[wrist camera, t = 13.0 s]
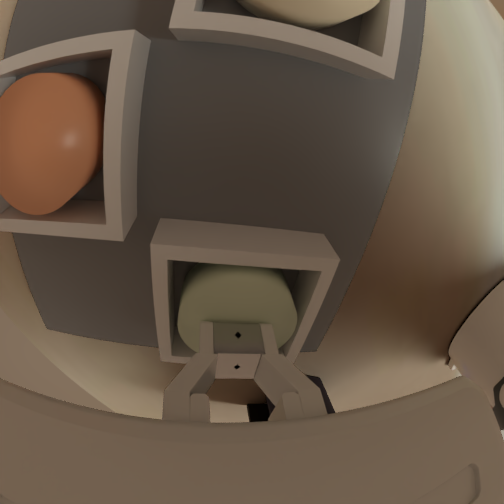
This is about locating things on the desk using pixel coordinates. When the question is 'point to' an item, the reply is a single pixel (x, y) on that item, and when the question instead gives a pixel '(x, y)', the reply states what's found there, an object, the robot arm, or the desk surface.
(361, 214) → the button console
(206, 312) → the sage button
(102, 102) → the terracotta button
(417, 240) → the desk surface
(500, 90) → the desk surface
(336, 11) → the sand button
